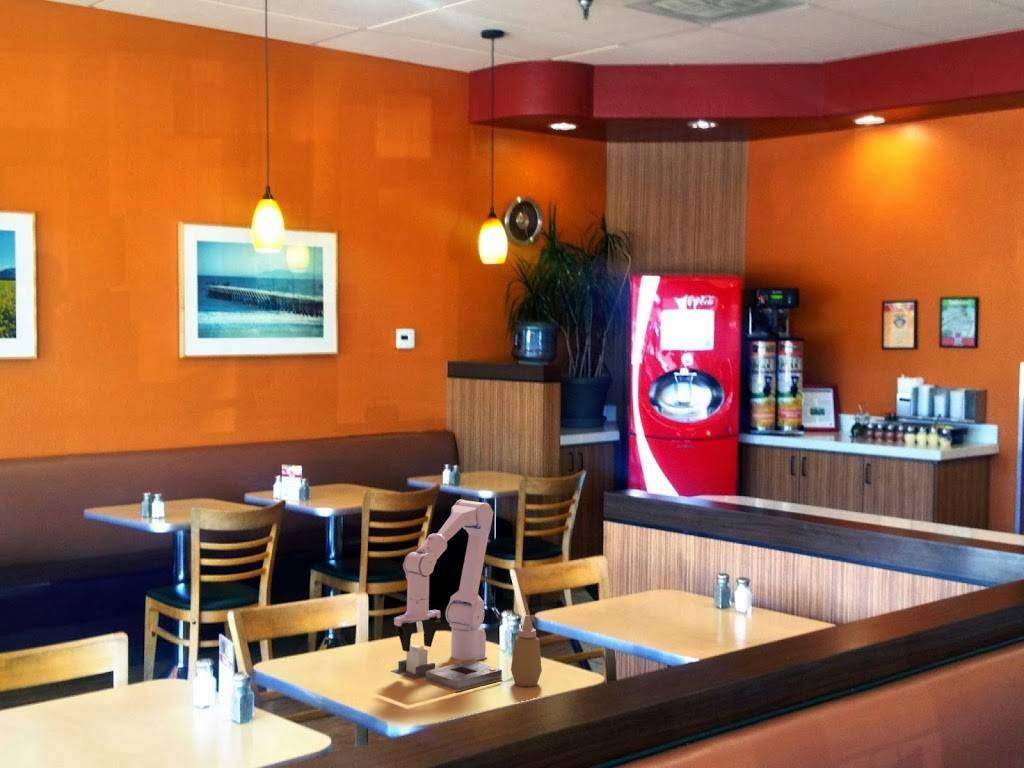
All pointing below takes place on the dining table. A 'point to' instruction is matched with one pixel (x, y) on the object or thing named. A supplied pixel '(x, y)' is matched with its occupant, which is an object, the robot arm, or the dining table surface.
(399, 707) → the dining table surface
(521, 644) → the squeeze bottle
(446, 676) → the port block
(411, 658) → the plug
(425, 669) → the dark grey holder base
